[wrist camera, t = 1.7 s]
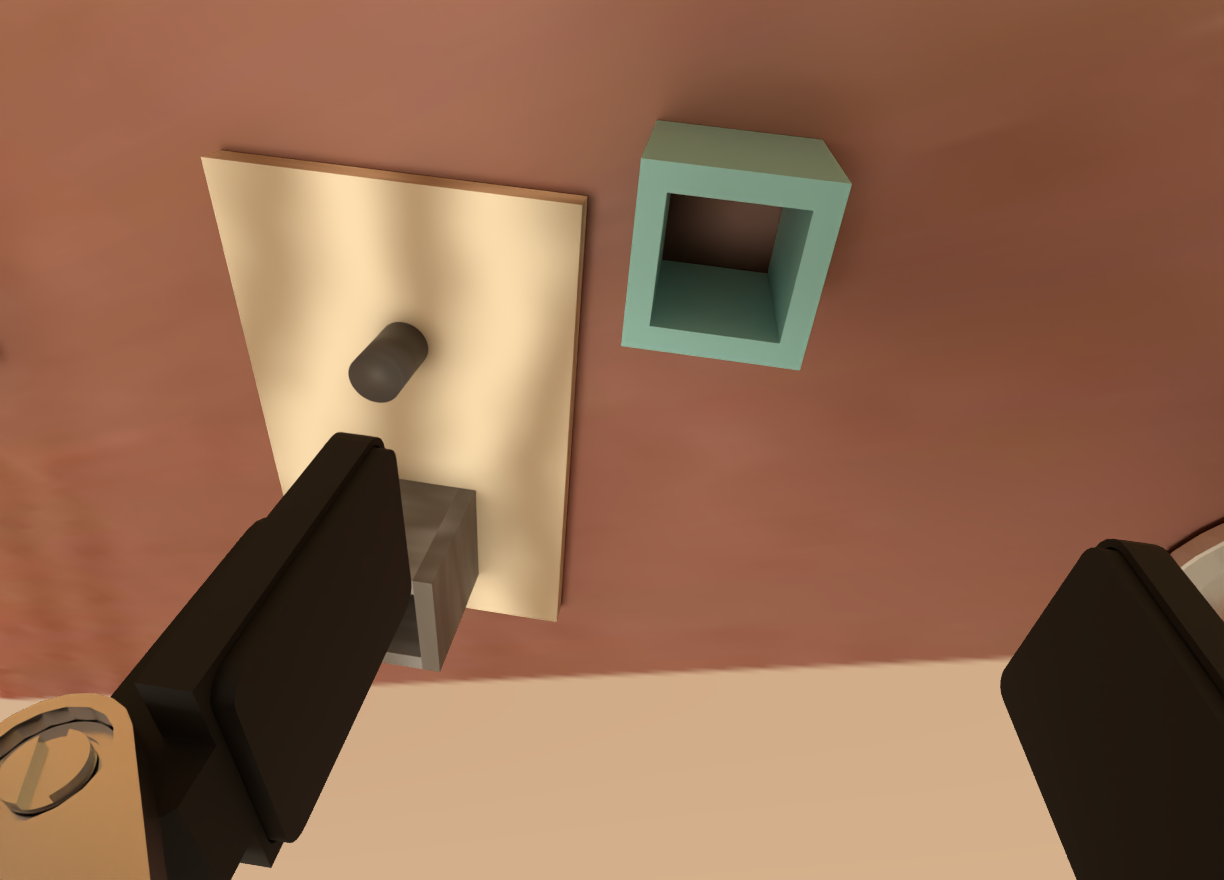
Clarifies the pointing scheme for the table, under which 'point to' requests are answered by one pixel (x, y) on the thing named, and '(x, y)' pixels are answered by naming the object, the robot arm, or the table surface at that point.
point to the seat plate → (461, 303)
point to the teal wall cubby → (722, 297)
